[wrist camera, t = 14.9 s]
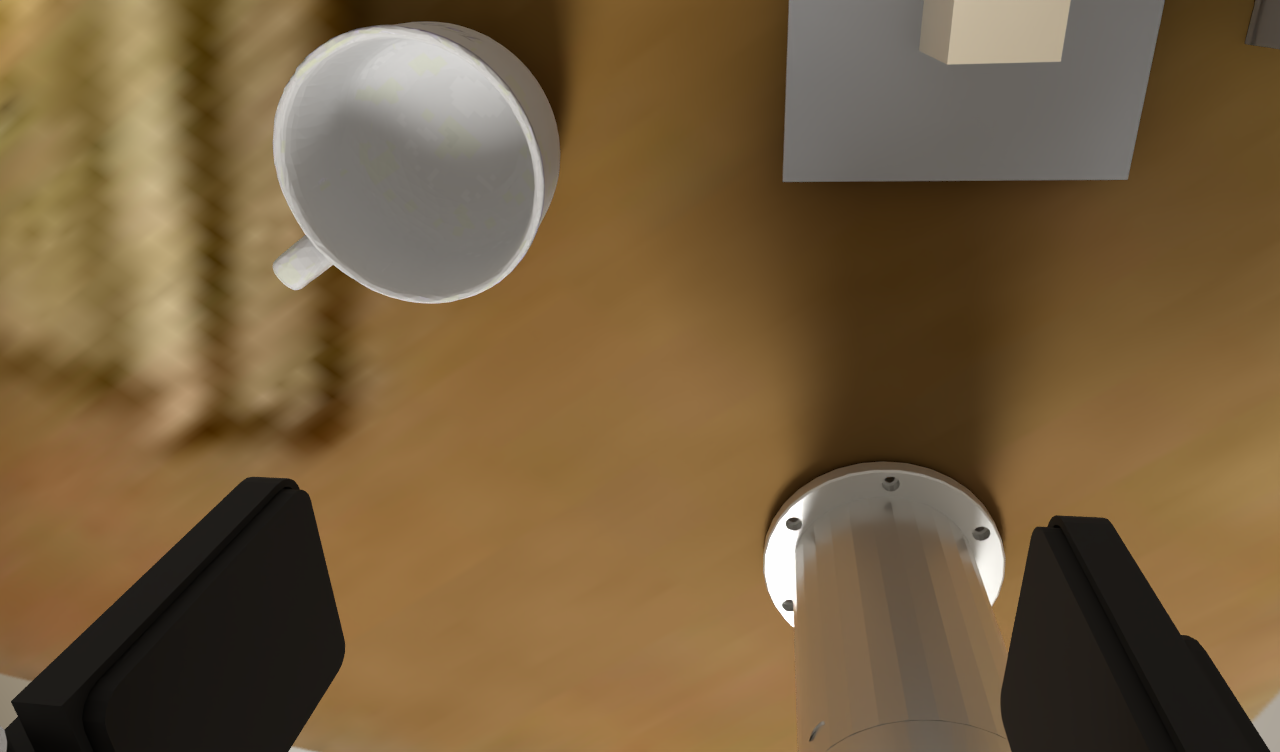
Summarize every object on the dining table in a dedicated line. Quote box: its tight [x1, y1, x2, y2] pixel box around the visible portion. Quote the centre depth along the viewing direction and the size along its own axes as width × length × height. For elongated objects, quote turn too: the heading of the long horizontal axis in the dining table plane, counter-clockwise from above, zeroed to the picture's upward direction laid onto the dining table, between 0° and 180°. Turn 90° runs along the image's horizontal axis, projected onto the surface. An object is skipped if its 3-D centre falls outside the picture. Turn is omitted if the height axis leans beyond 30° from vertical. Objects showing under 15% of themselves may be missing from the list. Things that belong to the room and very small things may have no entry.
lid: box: [783, 0, 1165, 182], centre depth 31 cm, size 14×14×8 cm
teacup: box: [273, 21, 560, 303], centre depth 36 cm, size 14×11×8 cm
